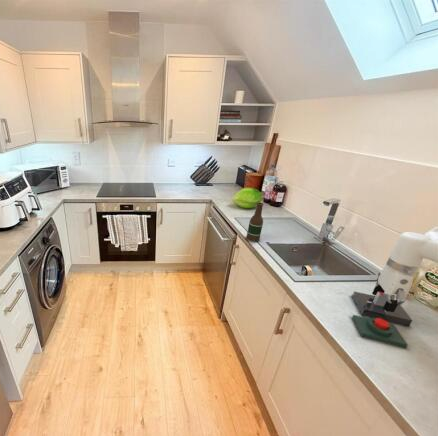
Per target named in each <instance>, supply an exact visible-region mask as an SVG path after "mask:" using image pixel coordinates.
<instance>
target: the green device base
mask: <svg viewBox="0 0 438 436" xmlns="http://www.w3.org/2000/svg"><path fill="white" fill-rule="evenodd" d="M375 319H376V318H371V317H366V316H362V315H357V314H353V315H352V317H351V320H352V322H353V323H354V325H355V327H356V329H357V331H358V333H359V335H360V337H361V338H365V339H369V340H373V341H377V342H381V343H384V344H388V345H392V346H396V347H399V348H402V349H406V348H407V347H408V346H409V345H408V343H407V341H406V340H405V338H404V337H403V335H402V333H400V331H399V330H398V328H397V327H396V325H395V323H391V322H388V323H389V327H388V329H387V330H383V329H380V328H378V327H377V326H375V325H374V321H375Z"/></svg>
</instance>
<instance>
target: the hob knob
mask: <svg viewBox="0 0 438 436" xmlns="http://www.w3.org/2000/svg"><path fill="white" fill-rule="evenodd" d="M374 296H375V298H374V300H373V303H374V304H375V305H379V306H383V307H384V305H385V303H386V301H388V294H387V293H386V292H384V293H382V292H377V294H376V295H374ZM392 300H396V297H392Z"/></svg>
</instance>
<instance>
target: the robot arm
mask: <svg viewBox="0 0 438 436" xmlns="http://www.w3.org/2000/svg"><path fill="white" fill-rule="evenodd" d="M424 259H426V260H428V261H432V262H435V263H437V264H438V225H436V227H433V228H432V229H430V230H428V231H426V232H425V233H424V234H423V233H419V232H415V231H414V232H413V231H403V232H402V233H400V234H399V237H398V238H397V240H396V243H395V244H394V247H393V248H392V251H391V252H390V254H389V257H388V259H387V261H386V263H385V265H384V266H383V268H382V270H381V272H378V274H377V278H376V283H375V286H374V288H373V290H372V292H371V295H373V296H376V294H377V292H382V293H386V294H388V301H386V303H385V305H384V307H383V310H385V311H389V312H394V311H395V309H396V308H397V306H398V305H402V304H404V303H406V298H407V296H408V295H409V292H410V290H411V288H412V285H413V283H414V279H415V274H416V273H417V271H418V269H419V267H420V265H421V264H422V262H423V260H424ZM392 297H395V299H394V300H392Z"/></svg>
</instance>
